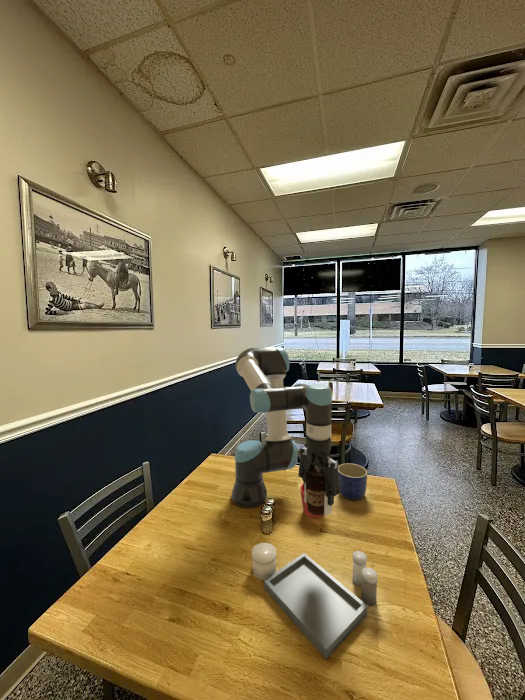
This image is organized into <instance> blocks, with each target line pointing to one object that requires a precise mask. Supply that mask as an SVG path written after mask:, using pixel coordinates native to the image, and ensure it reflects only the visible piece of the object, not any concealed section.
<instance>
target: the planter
mask: <svg viewBox="0 0 525 700" xmlns="http://www.w3.org/2000/svg"><path fill="white" fill-rule="evenodd" d="M338 475H339V485H340V495H342V497H344V498H346V499H349V500H354V501H355V500H361V499H362V498H363V497H365V495H366V491H367V481H368V471H367V469H366V468H365V467H363V466H362V465H360V464H356V463H348V462H347V463H342V464H339V466H338Z"/></svg>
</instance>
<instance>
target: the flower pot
mask: <svg viewBox="0 0 525 700" xmlns="http://www.w3.org/2000/svg"><path fill="white" fill-rule="evenodd" d="M299 490H300V496H301V504H302V509H303V513H304V515H305V516H306V517H308V518H311V519H319V518H321V517H323V516H316V515H313V514H311V513H309V511H308V509H307V503H305V502H304V496H305V490H304V489H303V483H302V484H301V485H300V489H299Z"/></svg>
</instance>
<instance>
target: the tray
mask: <svg viewBox="0 0 525 700" xmlns="http://www.w3.org/2000/svg"><path fill="white" fill-rule="evenodd" d="M263 590H265V592H266V593H267V594H268V595H269V596H270V598H271V599H273V601H274V602H275V603H276V604H277V606H278V607H279V608H280V609H281V610H282V611H283V613H285V614H286V616H287V617H288V618H289V619H290V620H291V622H292V623H293V624H294V625H295V626H296V627H297V628H298V630H300V632H301V633H302V634H303V636H304V637H306V639H307V640H308V641H309V642H310V643H311V644H312V646H313V647H314V646H315V647H316V648H315V649H316V651H318V652H319V654H320V655H321V654H322V655H323V656H322V655H321V656H322V657H323V658H324V659H325V660H326V659H328V658H329V657H330V656H331V655H332V654H333V653H334V652H335V651H336V650H337V649H338V648H339V646H340V645H341V644H342V643H343V642H344V641H345V640H346V639H347V638H348V637H349V635H350V634H351V633H352V632H353V631H354V630H355V629H356V628H357V627H358V626H359V624H361V622H362V621H363V620H364V619H365V618H366V617H367V616H368V607H369V606H368V605H366V604H365V603H364V602H363V600H362V599H360V598H359V597H358V596H357V595H355V594H354V593H353V592H352V591H351V590H349V589H348V588H347V587H346V586H344V585H343V583H341V582H340V581H339V580H338V579H336V578H335V577H334V576H333V575H331V574H330V572H328V571H327V570H326V569H324V567H322V566H321V565H320V564H318V563H317V562H316V561H315V560H313V558H312V557H310V556H309V555H308V554H307V553H305V552H303V553H301V554H300V555H299V556H298V557H296V558H294V559H293V560H292V561H290V562H289V563H287V564H286V565H284V566H283V567H282V568H280V569H278V570H276V573H274V574H273V575H271V576H270V577H268V578H267V579H266V580H263Z"/></svg>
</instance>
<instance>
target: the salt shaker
mask: <svg viewBox="0 0 525 700" xmlns="http://www.w3.org/2000/svg"><path fill="white" fill-rule="evenodd" d="M367 562H368V557H367V555H366V553H365V552H363V551H361V550H355V551H354V552H353V553H352V582H353V583H354V585H356V586H358V587H362V570H363V569H364V568H366V567H367Z"/></svg>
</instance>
